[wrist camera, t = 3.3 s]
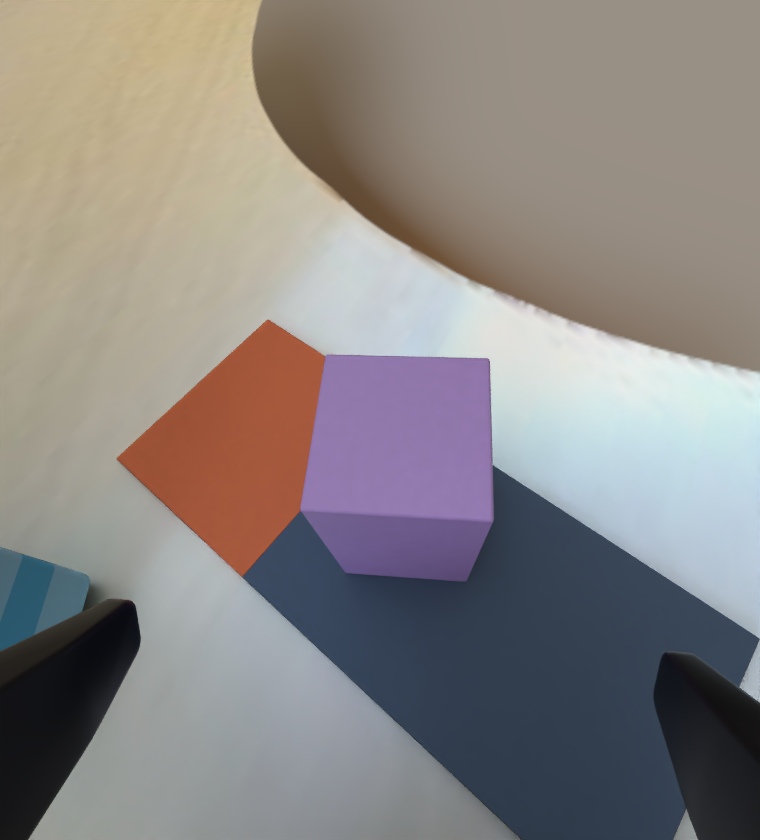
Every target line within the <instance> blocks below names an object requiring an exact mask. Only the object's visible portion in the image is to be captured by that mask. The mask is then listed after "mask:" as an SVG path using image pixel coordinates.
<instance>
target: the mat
mask: <svg viewBox="0 0 760 840" xmlns="http://www.w3.org/2000/svg"><path fill="white" fill-rule="evenodd" d="M324 361H325V356H324V355H322V354H321V353H319V352H317V351H316V350H314V349H313V348H311V347H310V346H308V345H307V344H305V343H304V342H302V341H301V340H299V339H297V338H296V337H294V336H293V335H291V334H290V333H288V332H287V331H285V330H284V329H282V328H281V327H279V326H277V325H276V324H274V323H273V322H271V321H270V320H267V321H265V322H264V323H263V324H262V325H261V326H260V327H259V328H258V329H257V330H256V331H255V332H254V333H252V334H251V335H250V336H249V337H248V338H247V339H246V340H245V341H244V342H243V343H242V344H240V345H239V346H238V347H237V348H236V349H235V350H234V351H233V352H232V353H231V354H230V355H228V356H227V357H226V358H225V359H224V360H223V361H222V362H221V363H220V364H219V365H218V366H217V367H215V368H214V369H213V370H212V371H211V372H210V373H209V374H208V375H207V376H206V377H205V378H203V379H202V380H201V381H200V382H199V383H198V384H197V385H196V386H195V387H194V388H193V389H191V390H190V391H189V392H188V393H187V394H186V395H185V396H184V397H183V398H182V399H181V400H179V401H178V402H177V403H176V404H175V405H174V406H173V407H172V408H171V409H170V410H169V411H168V412H166V413H165V414H164V415H163V416H162V417H161V418H160V419H159V420H158V421H157V422H156V423H154V424H153V425H152V426H151V427H150V428H149V429H148V430H147V431H146V432H145V433H144V434H142V435H141V436H140V437H139V438H138V439H137V440H136V441H135V442H134V443H133V444H132V445H131V446H129V447H128V448H127V449H126V450H125V451H124V452H123V453H122V454H121V455H120V456H119V457H117V460H118V461H119V462H120V463H121V464H122V465H124V466H125V467H126V468H127V469H128V470H129V471H130V472H131V473H132V474H133V475H134V476H135V477H136V478H137V479H138V480H140V481H141V482H142V483H143V484H144V485H145V486H146V487H147V488H148V489H149V490H150V491H151V492H152V493H153V494H154V495H155V496H157V497H158V498H159V499H160V500H161V501H162V502H163V503H164V504H165V505H166V506H167V507H168V508H169V509H170V510H171V511H173V512H174V513H175V514H176V515H177V516H178V517H179V518H180V519H181V520H182V521H183V522H184V523H185V524H186V525H187V526H189V527H190V528H191V529H192V530H193V531H194V532H195V533H196V534H197V535H198V536H199V537H200V538H201V539H202V540H203V541H204V542H206V543H207V544H208V545H209V546H210V547H211V548H212V549H213V550H214V551H215V552H216V553H217V554H218V555H219V556H220V557H222V558H223V559H224V560H225V561H226V562H227V563H228V564H229V565H230V566H231V567H232V568H233V569H234V570H235V571H236V572H238V573H239V574H240V575H241V576H242V577H243V578H244V579H245V580H246V581H247V582H248V583H249V584H250V585H251V586H252V587H253V588H255V589H256V590H257V591H258V592H259V593H260V594H261V595H262V596H263V597H264V598H265V599H266V600H267V601H268V602H269V603H271V604H272V605H273V606H274V607H275V608H276V609H277V610H278V611H279V612H280V613H281V614H282V615H283V616H284V617H285V618H287V619H288V620H289V621H290V622H291V623H292V624H293V625H294V626H295V627H296V628H297V629H298V630H299V631H300V632H301V633H302V634H304V635H305V636H306V637H307V638H308V639H309V640H310V641H311V642H312V643H313V644H314V645H315V646H316V647H317V648H318V649H320V650H321V651H322V652H323V653H324V654H325V655H326V656H327V657H328V658H329V659H330V660H331V661H332V662H333V663H334V664H336V665H337V666H338V667H339V668H340V669H341V670H342V671H343V672H344V673H345V674H346V675H347V676H348V677H349V678H350V679H351V680H353V681H354V682H355V683H356V684H357V685H358V686H359V687H360V688H361V689H362V690H363V691H364V692H365V693H366V694H367V695H369V696H370V697H371V698H372V699H373V700H374V701H375V702H376V703H377V704H378V705H379V706H380V707H381V708H382V709H383V710H384V711H386V712H387V713H388V714H389V715H390V716H391V717H392V718H393V719H394V720H395V721H396V722H397V723H398V724H399V725H400V726H402V727H403V728H404V729H405V730H406V731H407V732H408V733H409V734H410V735H411V736H412V737H413V738H414V739H415V740H416V741H418V742H419V743H420V744H421V745H422V746H423V747H424V748H425V749H426V750H427V751H428V752H429V753H430V754H431V755H432V756H433V757H435V758H436V759H437V760H438V761H439V762H440V763H441V764H442V765H443V766H444V767H445V768H446V769H447V770H448V771H449V772H451V773H452V774H453V775H454V776H455V777H456V778H457V779H458V780H459V781H460V782H461V783H462V784H463V785H464V786H465V787H467V788H468V789H469V790H470V791H471V792H472V793H473V794H474V795H475V796H476V797H477V798H478V799H479V800H480V801H481V802H482V803H484V804H485V805H486V806H487V807H488V808H489V809H490V810H491V811H492V812H493V813H494V814H495V815H496V816H497V817H498V818H500V819H501V820H502V821H503V822H504V823H505V824H506V825H507V826H508V827H509V828H510V829H511V830H512V831H513V832H514V833H516V834H517V835H518V836H519V837H520V838H521V839H522V840H673V838H674V836H675V833H676V831H677V829H678V826H679V824H680V822H681V819H682V817H683V815H684V813H685V810H686V805H685V803H684V800H683V797H682V793H681V790H680V787H679V784H678V780H677V777H676V774H675V771H674V767H673V764H672V761H671V758H670V755H669V751H668V748H667V745H666V742H665V738H664V735H663V732H662V729H661V725H660V722H659V719H658V716H657V713H656V709H655V705H654V698H653V692H654V687H655V682H656V678H657V673H658V669H659V664H660V660H661V657H662V655H663V653H665V652H667V651H675V652H686V653H692V654H694V655H696V656H697V657H699V658H700V659H701V660H703V661H704V662H705V663H707V664H708V665H709V666H711V667H712V668H714V669H715V670H716V671H718V672H719V673H720V674H722V675H723V676H724V677H726V678H727V679H728V680H730V681H731V682H732V683H734V684H735V685H736V686H738V687H739V686H740V683H741V681H742V679H743V676H744V674H745V672H746V670H747V667H748V665H749V663H750V660H751V658H752V656H753V653H754V651H755V649H756V647H757V644H758V642H759V640H760V639H759V638H758V637H756V636H755V635H753V634H752V633H750V632H749V631H747V630H746V629H744V628H742V627H741V626H739V625H738V624H736V623H735V622H733V621H732V620H730V619H729V618H727V617H726V616H724V615H722V614H721V613H719V612H718V611H716V610H715V609H713V608H712V607H710V606H709V605H707V604H705V603H704V602H702V601H701V600H699V599H698V598H696V597H695V596H693V595H692V594H690V593H689V592H687V591H685V590H684V589H682V588H681V587H679V586H678V585H676V584H675V583H673V582H672V581H670V580H669V579H667V578H665V577H664V576H662V575H661V574H659V573H658V572H656V571H655V570H653V569H652V568H650V567H649V566H647V565H645V564H644V563H642V562H641V561H639V560H638V559H636V558H635V557H633V556H632V555H630V554H629V553H627V552H625V551H624V550H622V549H621V548H619V547H618V546H616V545H615V544H613V543H612V542H610V541H608V540H607V539H605V538H604V537H602V536H601V535H599V534H598V533H596V532H595V531H593V530H592V529H590V528H588V527H587V526H585V525H584V524H582V523H581V522H579V521H578V520H576V519H575V518H573V517H572V516H570V515H568V514H567V513H565V512H564V511H562V510H561V509H559V508H558V507H556V506H555V505H553V504H552V503H550V502H548V501H547V500H545V499H544V498H542V497H541V496H539V495H538V494H536V493H535V492H533V491H531V490H530V489H528V488H527V487H525V486H524V485H522V484H521V483H519V482H518V481H516V480H515V479H513V478H511V477H510V476H508V475H507V474H505V473H504V472H502V471H501V470H499V469H498V468H496V467H495V466H493V504H494V521H493V523H492V525H491V527H490V530H489V532H488V534H487V536H486V539H485V541H484V543H483V545H482V548H481V550H480V552H479V554H478V557H477V559H476V561H475V563H474V566H473V568H472V570H471V572H470V575H469V577H468V579H467V581H466V582H462V581H448V580H434V579H421V578H407V577H393V576H379V575H365V574H352V573H345V571H344V570H343V569H342V567H341V566H340V565H339V563H338V562H337V560H336V559H335V558H334V556H333V555H332V553H331V552H330V551H329V549H328V548H327V546H326V545H325V544H324V542H323V541H322V539H321V538H320V537H319V535H318V534H317V533H316V531H315V530H314V528H313V527H312V526H311V524H310V523H309V521H308V520H307V519H306V517H305V516H304V514H303V513H302V512H301V510H300V506H301V500H302V494H303V488H304V482H305V476H306V470H307V464H308V458H309V452H310V446H311V440H312V434H313V428H314V422H315V415H316V409H317V403H318V397H319V391H320V385H321V379H322V373H323V367H324Z"/></svg>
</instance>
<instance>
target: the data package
mask: <svg viewBox="0 0 760 840" xmlns="http://www.w3.org/2000/svg"><path fill="white" fill-rule="evenodd" d="M89 585H90V579H89V577H88V576H87V575H85V574H83V573H80V572H77V571H74V570H71V569H68V568H65V567H62V566H58V565H55V564H52V563H49V562H46V561H43V560H39V559H36V558H33V557H30V556H27V555H24V554H21V553H17V552H14V551H11V550H8V549H5V548H2V547H0V651H2V650H4V649H6V648H8V647H10V646H12V645H14V644H16V643H18V642H20V641H22V640H24V639H27V638H29V637H31V636H33V635H35V634H37V633H39V632H41V631H43V630H45V629H47V628H49V627H52V626H54V625H56V624H58V623H60V622H62V621H64V620H66V619H68V618H70V617H72V616H74V615H77V614H79V613H81V612H82V610H83V607H84V603H85V599H86V596H87V592H88V588H89Z"/></svg>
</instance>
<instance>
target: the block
mask: <svg viewBox="0 0 760 840" xmlns="http://www.w3.org/2000/svg"><path fill="white" fill-rule="evenodd" d="M300 510H301V512H302V513H303V514H304V516H305V517H306V519H307V520H308V521H309V523H310V524H311V526H312V527H313V528H314V530H315V531H316V533H317V534H318V535H319V537H320V538H321V539H322V541H323V542H324V544H325V545H326V546H327V548H328V549H329V551H330V552H331V553H332V555H333V556H334V558H335V559H336V560H337V562H338V563H339V565H340V566H341V567H342V569H343V570H344V571H345V573H352V574H365V575H379V576H393V577H407V578H421V579H434V580H448V581H462V582H466V581H467V579H468V577H469V575H470V572H471V570H472V568H473V566H474V563H475V561H476V559H477V557H478V554H479V552H480V550H481V548H482V545H483V543H484V541H485V539H486V536H487V534H488V532H489V530H490V527H491V525H492V523H493V521H494V504H493V465H492V426H491V387H490V361H489V359H487V358H446V357H404V356H363V355H326V356H325V361H324V367H323V373H322V379H321V385H320V391H319V397H318V403H317V409H316V415H315V422H314V428H313V434H312V440H311V446H310V452H309V458H308V464H307V470H306V476H305V482H304V488H303V494H302V500H301V506H300Z"/></svg>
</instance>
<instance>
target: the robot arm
mask: <svg viewBox="0 0 760 840" xmlns="http://www.w3.org/2000/svg"><path fill="white" fill-rule="evenodd" d="M140 641H141V636H140V630H139V624H138V618H137V611H136V606H135V604H134V603H133V602H132V601H130V600H122V599H108V600H106V601H104V602H102V603H99V604H97V605H95V606H93V607H91V608H89V609H87V610H85V611H83V612H81V613H79V614H77V615H74V616H72V617H70V618H68V619H66V620H64V621H62V622H60V623H58V624H56V625H54V626H52V627H49V628H47V629H45V630H43V631H41V632H39V633H37V634H35V635H33V636H31V637H29V638H27V639H24V640H22V641H20V642H18V643H16V644H14V645H12V646H10V647H8V648H6V649H4V650H2V651H0V840H28V839H29V837H30V836H31V834H32V833H33V831H34V830H35V828H36V826H37V825H38V823H39V822H40V820H41V819H42V817H43V815H44V814H45V812H46V811H47V809H48V808H49V806H50V805H51V803H52V801H53V800H54V798H55V797H56V795H57V794H58V792H59V790H60V789H61V787H62V786H63V784H64V783H65V781H66V779H67V778H68V776H69V775H70V773H71V772H72V770H73V768H74V767H75V765H76V764H77V762H78V761H79V759H80V758H81V756H82V754H83V753H84V751H85V749H86V748H87V746H88V745H89V743H90V741H91V740H92V738H93V736H94V734H95V733H96V731H97V729H98V727H99V725H100V724H101V722H102V720H103V718H104V716H105V714H106V712H107V710H108V708H109V706H110V704H111V703H112V701H113V699H114V697H115V695H116V693H117V691H118V689H119V687H120V685H121V683H122V681H123V680H124V678H125V676H126V674H127V672H128V670H129V668H130V666H131V664H132V662H133V660H134V659H135V657H136V655H137V653H138V650H139V647H140ZM653 698H654V705H655V709H656V713H657V716H658V719H659V722H660V725H661V729H662V732H663V735H664V738H665V742H666V745H667V748H668V751H669V755H670V758H671V761H672V764H673V767H674V771H675V774H676V777H677V780H678V784H679V787H680V790H681V793H682V797H683V800H684V803H685V805H686V808H687V811H688V814H689V817H690V820H691V822H692V825H693V827H694V830H695V833H696V835H697V838H698V840H760V703H759V702H758V701H757V700H755V699H754V698H753V697H751V696H750V695H749V694H747V693H746V692H745V691H743V690H742V689H741V688H739V687H738V686H736V685H735V684H734V683H732V682H731V681H730V680H728V679H727V678H726V677H724V676H723V675H722V674H720V673H719V672H718V671H716V670H715V669H714V668H712V667H711V666H709V665H708V664H707V663H705V662H704V661H703V660H701V659H700V658H699V657H697V656H696V655H694V654H692V653H686V652H675V651H667V652H665V653H663V655H662V657H661V660H660V664H659V669H658V673H657V678H656V682H655V687H654V692H653Z"/></svg>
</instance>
